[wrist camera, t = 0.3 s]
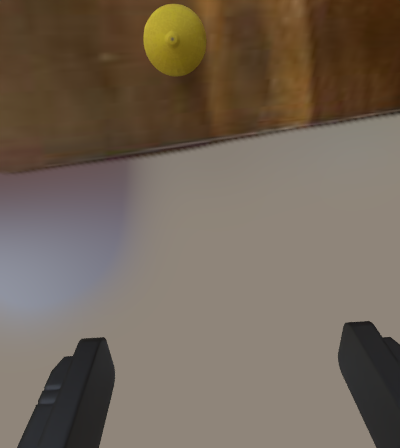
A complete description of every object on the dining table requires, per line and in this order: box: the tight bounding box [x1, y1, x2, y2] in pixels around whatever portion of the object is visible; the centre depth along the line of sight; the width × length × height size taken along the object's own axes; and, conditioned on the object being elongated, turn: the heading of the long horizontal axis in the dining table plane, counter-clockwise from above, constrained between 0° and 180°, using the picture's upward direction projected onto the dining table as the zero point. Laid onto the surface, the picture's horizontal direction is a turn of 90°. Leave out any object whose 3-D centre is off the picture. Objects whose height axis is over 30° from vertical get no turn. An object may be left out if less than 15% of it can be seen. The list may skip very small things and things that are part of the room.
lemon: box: [143, 4, 206, 76], centre depth 28 cm, size 6×6×8 cm
